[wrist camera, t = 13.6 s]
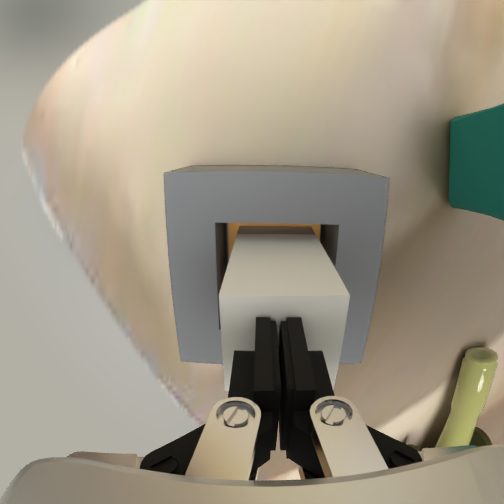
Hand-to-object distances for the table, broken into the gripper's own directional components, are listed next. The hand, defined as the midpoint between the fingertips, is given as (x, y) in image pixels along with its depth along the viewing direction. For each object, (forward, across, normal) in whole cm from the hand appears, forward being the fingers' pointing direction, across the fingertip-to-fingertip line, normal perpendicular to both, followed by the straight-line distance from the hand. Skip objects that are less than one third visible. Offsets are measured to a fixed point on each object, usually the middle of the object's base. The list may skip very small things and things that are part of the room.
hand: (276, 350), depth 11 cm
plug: (+10, 0, 0) cm, 10 cm away
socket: (+13, 0, 0) cm, 13 cm away
